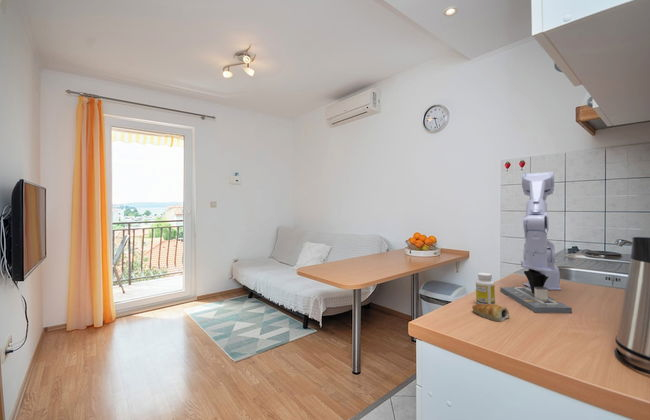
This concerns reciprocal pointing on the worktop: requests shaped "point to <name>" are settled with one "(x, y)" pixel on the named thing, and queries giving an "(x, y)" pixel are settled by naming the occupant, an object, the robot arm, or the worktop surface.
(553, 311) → the console
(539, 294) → the fader tab
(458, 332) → the worktop surface
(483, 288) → the supplement bottle
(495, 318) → the pastry
